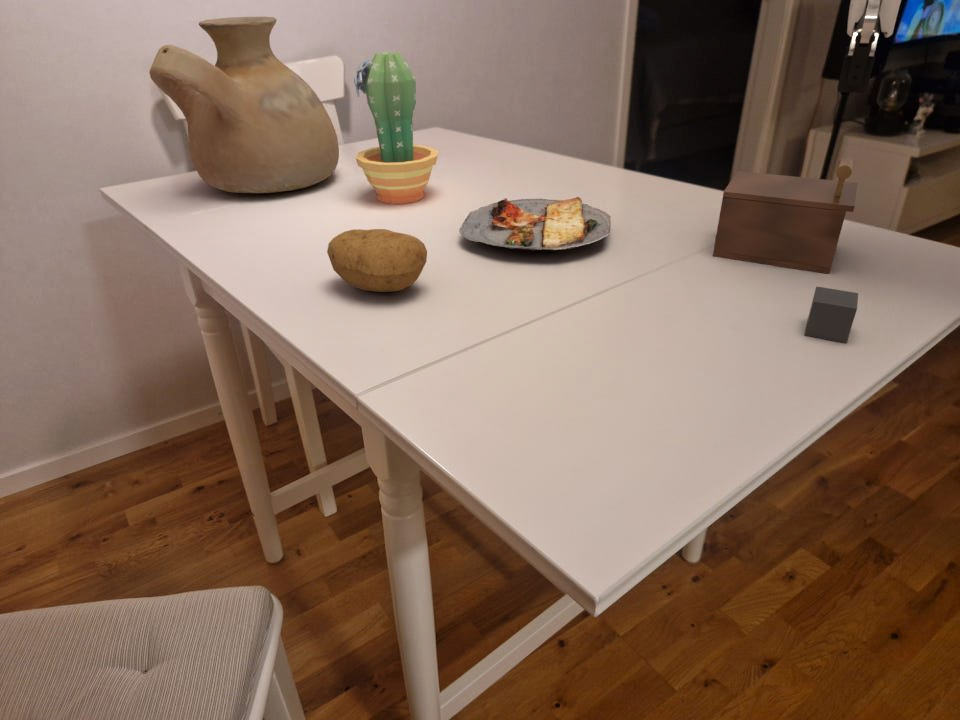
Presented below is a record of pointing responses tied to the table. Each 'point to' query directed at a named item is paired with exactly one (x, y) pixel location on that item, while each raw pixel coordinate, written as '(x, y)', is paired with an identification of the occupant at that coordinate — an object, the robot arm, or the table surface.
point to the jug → (248, 111)
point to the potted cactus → (393, 131)
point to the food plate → (537, 224)
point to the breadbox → (778, 234)
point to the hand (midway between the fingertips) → (851, 86)
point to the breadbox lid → (797, 189)
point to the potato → (377, 259)
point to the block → (831, 314)
